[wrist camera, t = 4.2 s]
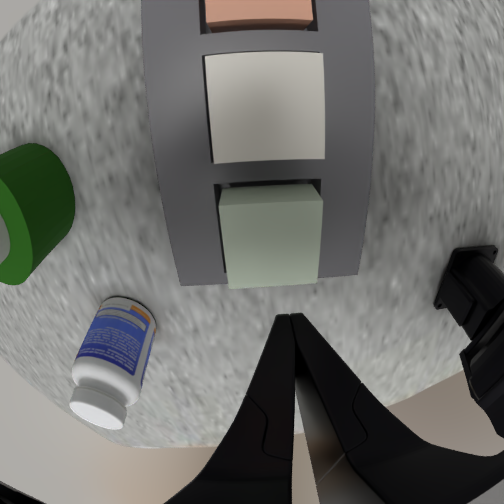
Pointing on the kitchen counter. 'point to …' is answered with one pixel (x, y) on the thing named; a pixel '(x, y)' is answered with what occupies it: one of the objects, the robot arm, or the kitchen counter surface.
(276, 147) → the key white
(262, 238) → the key sage
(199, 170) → the keypad
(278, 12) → the key terracotta
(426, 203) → the kitchen counter surface
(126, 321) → the pill bottle
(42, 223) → the candle
